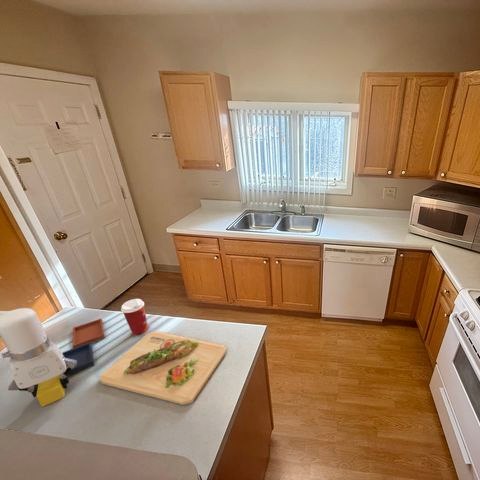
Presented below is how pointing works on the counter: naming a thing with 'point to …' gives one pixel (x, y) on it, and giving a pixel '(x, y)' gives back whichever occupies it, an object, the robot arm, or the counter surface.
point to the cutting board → (165, 367)
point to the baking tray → (80, 357)
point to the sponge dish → (88, 333)
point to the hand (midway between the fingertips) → (53, 390)
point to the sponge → (50, 391)
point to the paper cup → (135, 316)
